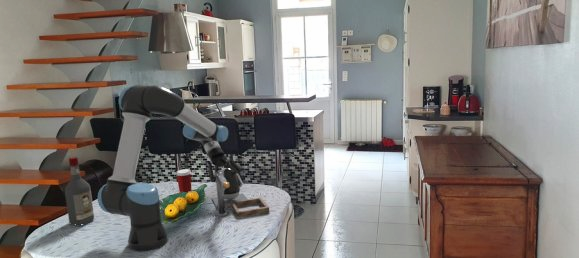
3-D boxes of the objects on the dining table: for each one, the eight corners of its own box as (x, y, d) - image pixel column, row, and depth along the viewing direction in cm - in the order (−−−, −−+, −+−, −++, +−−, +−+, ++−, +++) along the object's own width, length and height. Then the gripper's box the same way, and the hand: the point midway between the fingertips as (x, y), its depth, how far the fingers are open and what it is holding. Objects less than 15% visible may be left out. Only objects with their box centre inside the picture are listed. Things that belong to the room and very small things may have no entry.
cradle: (237, 217, 206) (237, 212, 205) (231, 207, 220) (230, 202, 219) (269, 212, 210) (269, 207, 210) (261, 202, 224) (260, 197, 224)
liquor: (66, 223, 209) (57, 159, 203) (83, 216, 216) (75, 154, 211) (80, 226, 204) (71, 161, 199) (97, 219, 212) (88, 156, 206)
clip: (213, 175, 209) (213, 171, 209) (223, 174, 210) (222, 170, 210) (221, 188, 189) (221, 184, 189) (232, 187, 191) (231, 183, 190)
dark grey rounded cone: (230, 202, 220) (228, 172, 217) (215, 199, 226) (213, 169, 223) (245, 196, 228) (243, 167, 225) (230, 193, 234) (227, 164, 231)
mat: (217, 209, 217) (217, 208, 217) (212, 199, 232) (211, 197, 232) (250, 204, 222) (250, 203, 222) (243, 194, 237) (242, 193, 237)
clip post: (216, 217, 207) (213, 180, 204) (214, 212, 213) (211, 176, 210) (230, 215, 209) (227, 178, 206) (227, 210, 215) (224, 174, 212)
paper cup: (195, 194, 240) (193, 168, 238) (191, 199, 233) (188, 173, 230) (181, 194, 241) (178, 169, 239) (176, 199, 234) (173, 173, 231)
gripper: (196, 150, 223) (215, 189, 214) (235, 142, 237) (254, 178, 227) (192, 159, 228) (210, 197, 219) (230, 151, 242) (249, 186, 233)
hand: (232, 187), depth 223 cm, fingers closed on dark grey rounded cone, 9 cm apart
